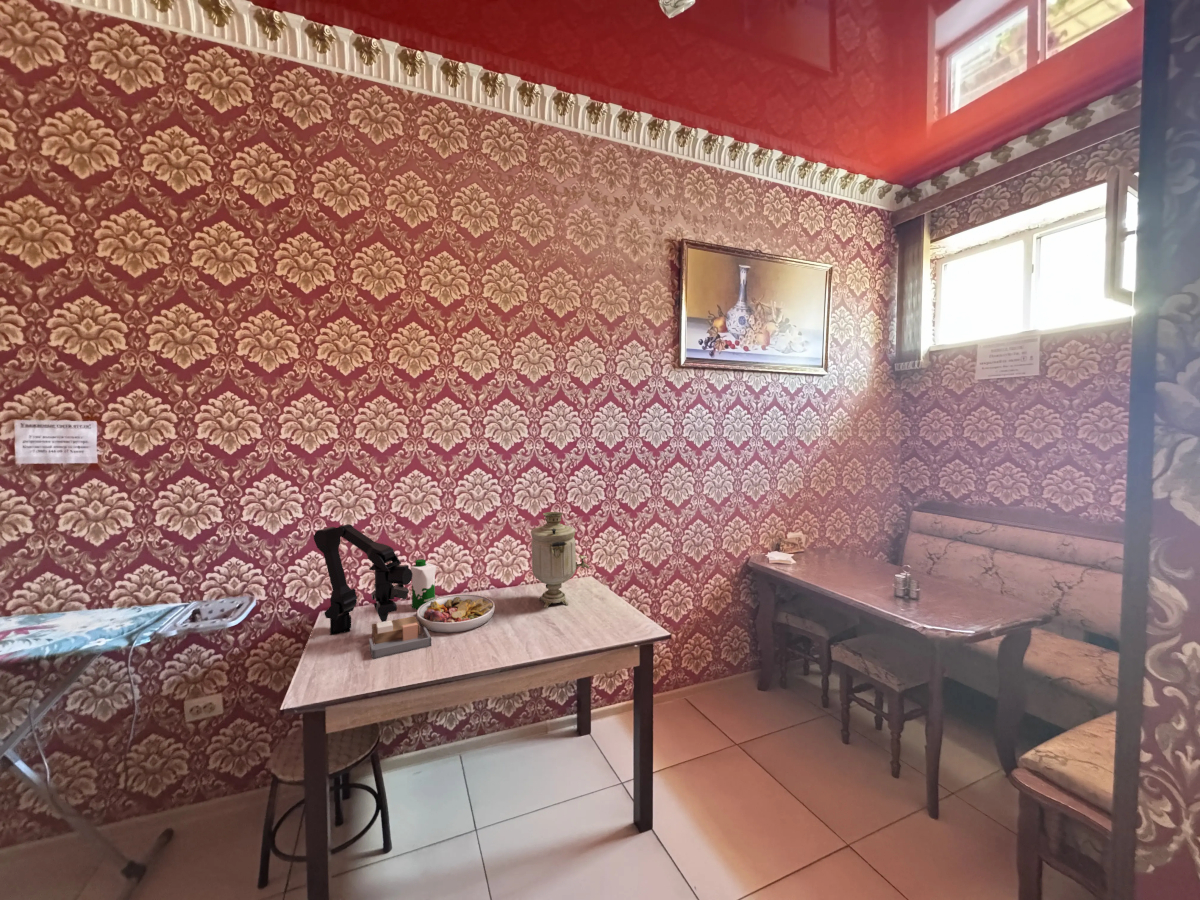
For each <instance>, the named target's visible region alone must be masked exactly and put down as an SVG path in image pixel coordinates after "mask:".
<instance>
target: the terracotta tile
mask: <svg viewBox="0 0 1200 900" xmlns="http://www.w3.org/2000/svg"><path fill="white" fill-rule="evenodd" d="M415 638H418V624H417V623H412V624H407V625H402V639H403V641H406V640H411V639H415Z"/></svg>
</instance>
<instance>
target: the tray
mask: <svg viewBox="0 0 1200 900" xmlns="http://www.w3.org/2000/svg"><path fill="white" fill-rule="evenodd" d="M422 632H423V633H422V634H420V635H418V638H415V639H411V640H406V641H403V639H398V640H394V641H389V642H384V643H379V644H375V643H374V641H373V639H372V638H373V637H372V638H371V637H370V638H369V639H368V648H369V654H370V655H371V656H370V657H371V659H372V660H377V659H380V658H384V657H388V656H392V655H397V654H403V653H407V652H411V651H414V650H415V651H416V650H419V649H424V648H429V647H432V636H431V635H430V633H429V631H428V629H427V628H426V627H423V629H422Z"/></svg>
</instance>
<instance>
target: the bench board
mask: <svg viewBox="0 0 1200 900" xmlns="http://www.w3.org/2000/svg"><path fill="white" fill-rule="evenodd" d="M391 621H392V624H393V631H389V632H384V633H377V628H376V623H372V624H371V634H372V638H373V639H372V640H373V644H374V645H375V644H379V643H384V642H389V641H394V640H398V639H402V625H407V624H412V623H417V624H418V635H421V626H420V625H421V624H420V623H419V621H418V619H417V617H416V616H415V615H413V616H408V617H403V618H398V619H397V618H396V619H393V620H391Z"/></svg>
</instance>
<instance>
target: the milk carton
mask: <svg viewBox="0 0 1200 900" xmlns="http://www.w3.org/2000/svg"><path fill="white" fill-rule="evenodd" d="M437 567H438V566H437V565H435V564H433V563H429V562H426V559H424V558H423V559H422V558H421V559H420V558H419V559H416V560H415V565H412V566H410V570H411V571H412V579H411V609H414V610H417V611H418V609H419V608H420V607H421V606H422V605H423V604H425V603H426V602H428V601H431V600H433V599H436V571H437Z"/></svg>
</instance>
